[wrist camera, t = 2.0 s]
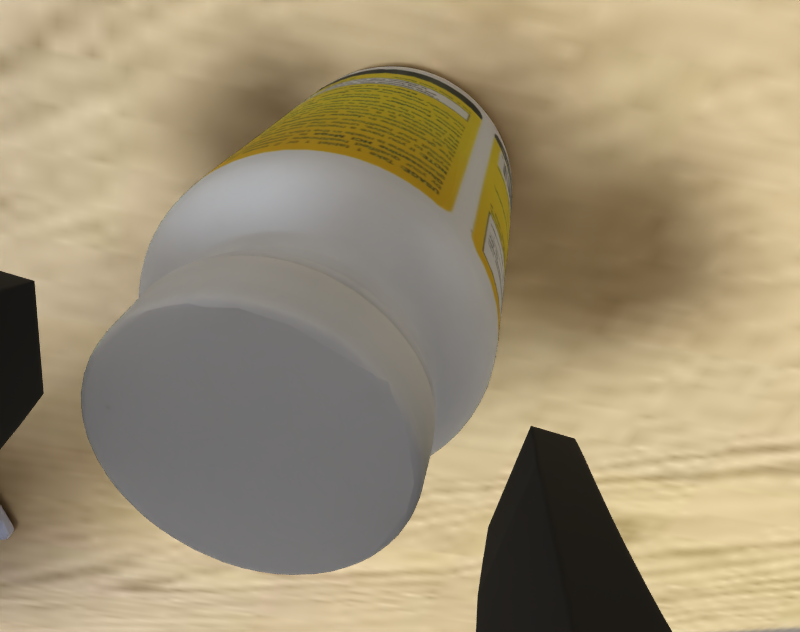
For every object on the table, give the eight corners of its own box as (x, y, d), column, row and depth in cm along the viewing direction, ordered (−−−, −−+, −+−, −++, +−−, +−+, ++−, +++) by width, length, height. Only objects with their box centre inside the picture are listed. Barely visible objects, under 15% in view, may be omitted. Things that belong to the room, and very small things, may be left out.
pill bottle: (243, 158, 19) (-65, 390, 9) (416, 6, 16) (231, 112, 6) (384, 321, 20) (248, 656, 11) (561, 208, 18) (583, 525, 8)
